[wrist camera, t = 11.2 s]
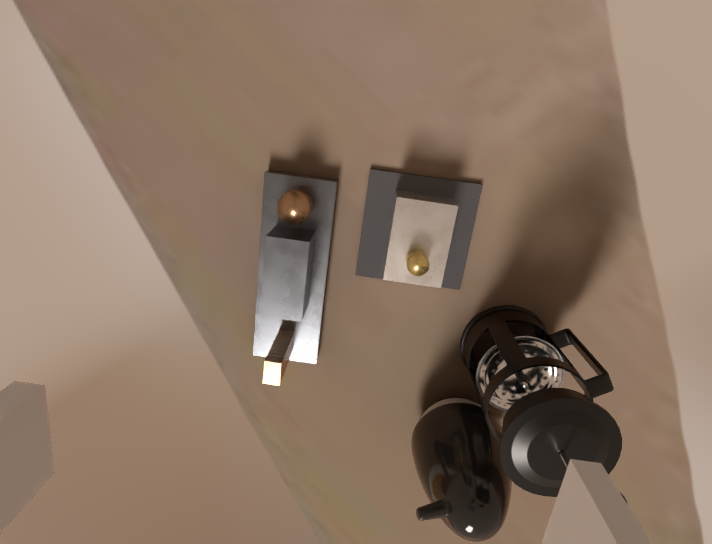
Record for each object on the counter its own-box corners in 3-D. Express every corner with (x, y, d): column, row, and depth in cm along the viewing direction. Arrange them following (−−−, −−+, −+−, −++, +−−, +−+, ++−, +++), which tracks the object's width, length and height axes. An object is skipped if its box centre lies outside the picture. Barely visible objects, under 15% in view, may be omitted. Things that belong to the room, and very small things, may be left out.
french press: (473, 395, 53) (538, 591, 31) (441, 328, 50) (487, 489, 29) (574, 357, 51) (720, 539, 29) (545, 284, 48) (682, 424, 26)
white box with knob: (395, 190, 45) (397, 200, 40) (451, 198, 45) (462, 210, 40) (382, 266, 48) (383, 286, 42) (436, 274, 48) (443, 295, 42)
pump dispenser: (413, 379, 53) (425, 478, 38) (504, 388, 52) (551, 491, 38) (402, 452, 56) (410, 569, 42) (488, 461, 56) (526, 581, 41)
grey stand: (268, 170, 46) (244, 182, 38) (338, 180, 46) (329, 193, 38) (256, 348, 52) (234, 391, 44) (317, 357, 52) (306, 401, 44)
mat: (370, 168, 45) (370, 169, 45) (481, 184, 45) (482, 184, 45) (355, 273, 49) (355, 275, 48) (459, 288, 49) (459, 289, 48)
